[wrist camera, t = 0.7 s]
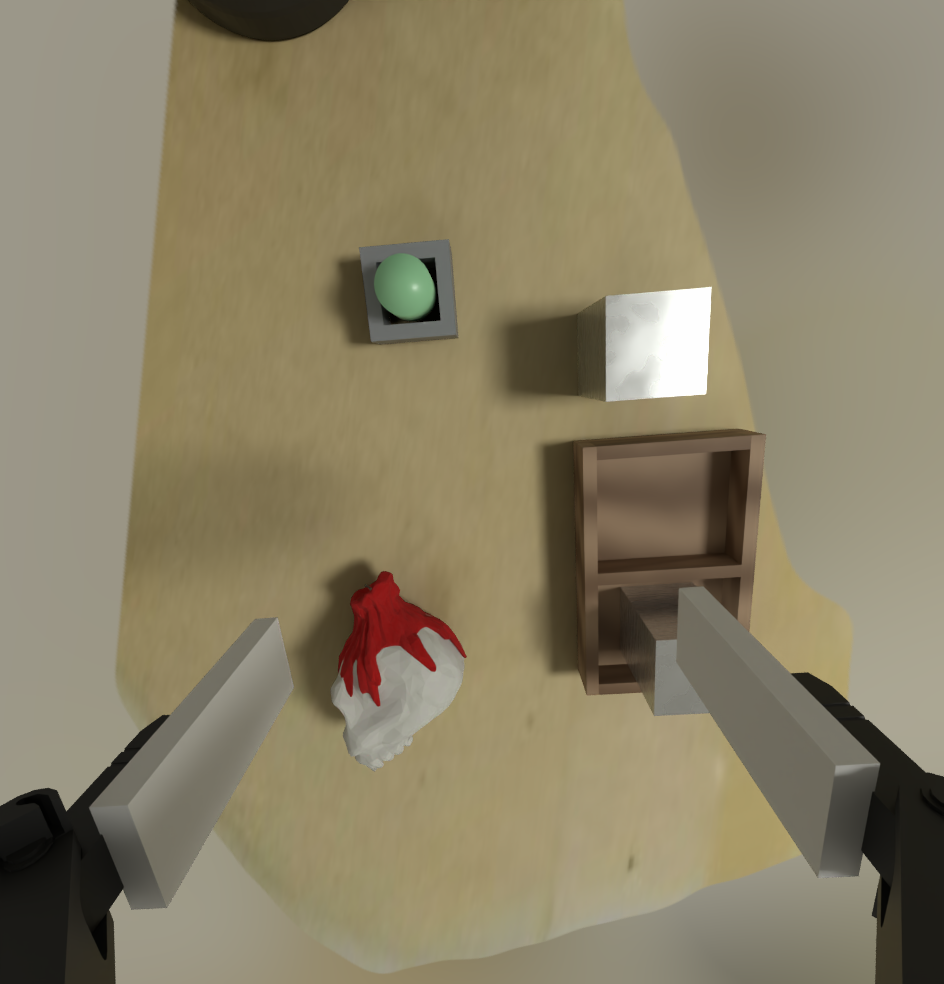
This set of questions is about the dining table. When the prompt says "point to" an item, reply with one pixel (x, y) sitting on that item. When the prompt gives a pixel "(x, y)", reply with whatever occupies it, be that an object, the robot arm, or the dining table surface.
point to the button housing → (441, 259)
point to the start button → (405, 287)
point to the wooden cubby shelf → (660, 531)
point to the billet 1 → (644, 345)
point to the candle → (393, 672)
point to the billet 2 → (656, 647)
